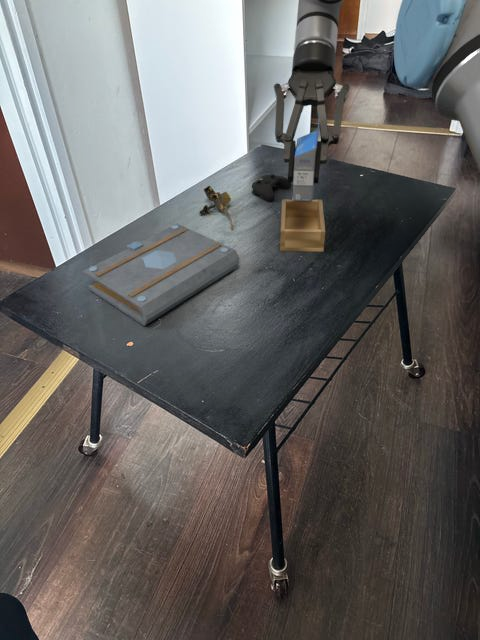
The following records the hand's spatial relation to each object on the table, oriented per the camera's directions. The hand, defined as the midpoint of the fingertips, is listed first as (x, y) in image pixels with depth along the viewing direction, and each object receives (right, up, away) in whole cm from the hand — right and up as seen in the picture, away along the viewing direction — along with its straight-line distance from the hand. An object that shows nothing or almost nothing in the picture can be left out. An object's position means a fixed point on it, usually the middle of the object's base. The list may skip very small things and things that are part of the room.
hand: (303, 179), depth 83 cm
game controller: (-4, +5, +26) cm, 27 cm away
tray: (+1, -8, +11) cm, 13 cm away
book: (-24, -18, 0) cm, 30 cm away
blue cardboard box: (+1, -1, +6) cm, 6 cm away
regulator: (-15, -2, +19) cm, 24 cm away
